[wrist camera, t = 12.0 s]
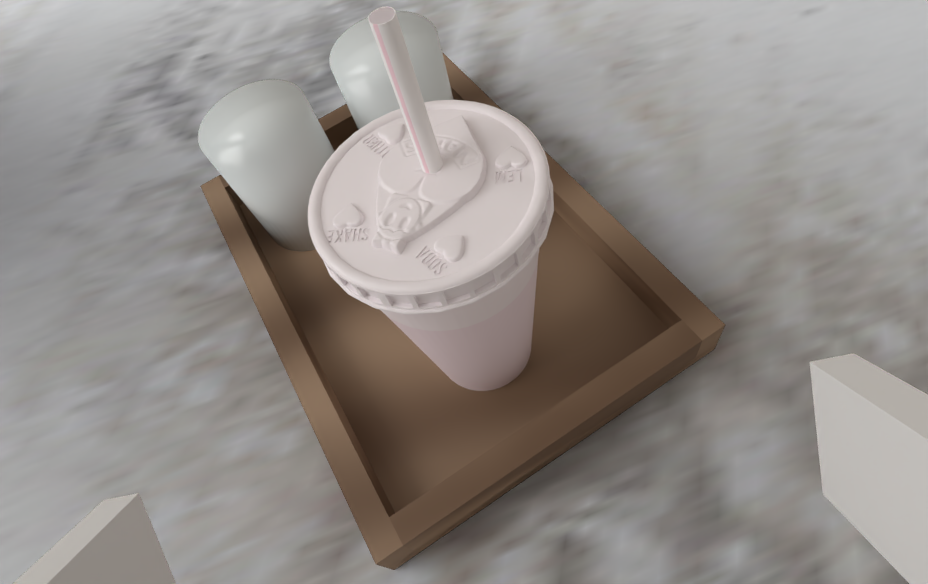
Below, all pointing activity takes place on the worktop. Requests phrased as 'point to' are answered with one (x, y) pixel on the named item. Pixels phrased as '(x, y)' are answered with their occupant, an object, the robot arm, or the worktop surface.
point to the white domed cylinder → (367, 75)
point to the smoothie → (439, 222)
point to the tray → (438, 397)
